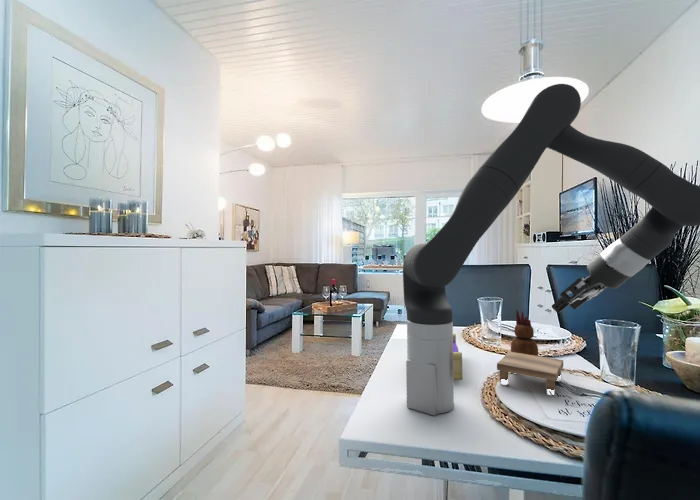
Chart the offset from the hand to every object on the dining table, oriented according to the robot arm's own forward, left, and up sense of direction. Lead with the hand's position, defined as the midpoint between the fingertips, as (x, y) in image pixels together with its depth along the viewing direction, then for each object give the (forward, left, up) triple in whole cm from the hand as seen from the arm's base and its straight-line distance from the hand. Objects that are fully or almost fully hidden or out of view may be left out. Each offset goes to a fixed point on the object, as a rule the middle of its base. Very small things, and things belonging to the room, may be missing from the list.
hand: (563, 308), depth 86 cm
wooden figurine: (+3, +10, -17) cm, 20 cm away
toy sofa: (-10, +28, -17) cm, 34 cm away
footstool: (-10, +6, -17) cm, 20 cm away
